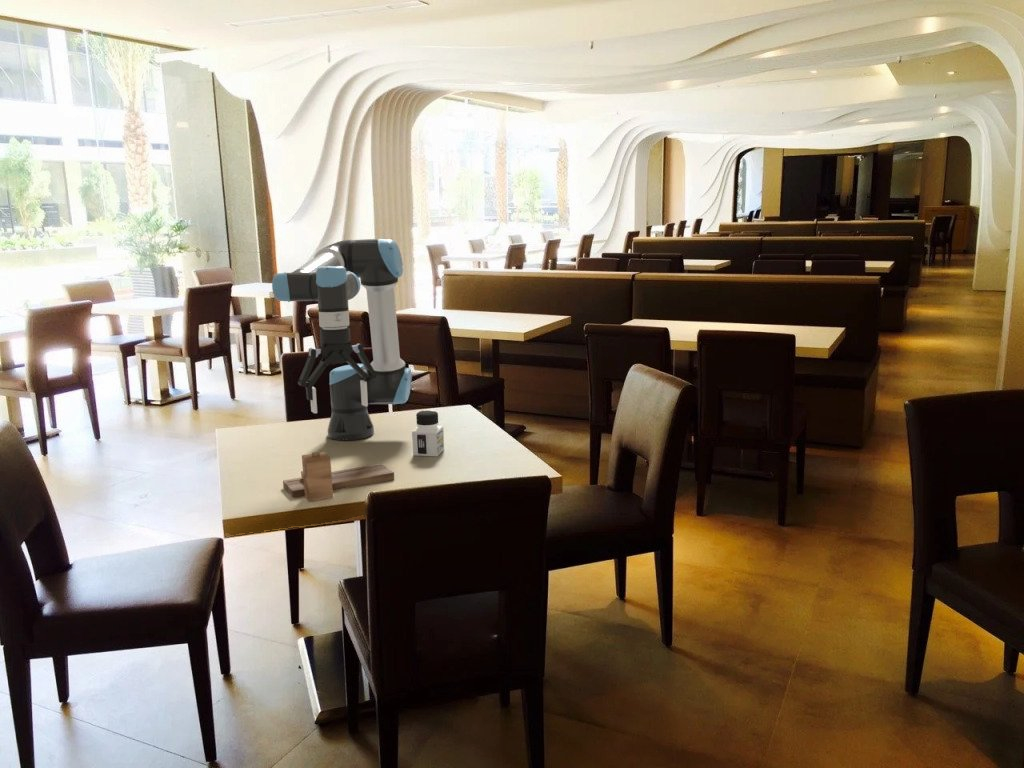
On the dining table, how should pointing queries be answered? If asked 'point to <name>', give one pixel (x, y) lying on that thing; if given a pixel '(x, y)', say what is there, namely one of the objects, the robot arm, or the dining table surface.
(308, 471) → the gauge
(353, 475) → the board
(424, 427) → the container
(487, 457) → the dining table surface
